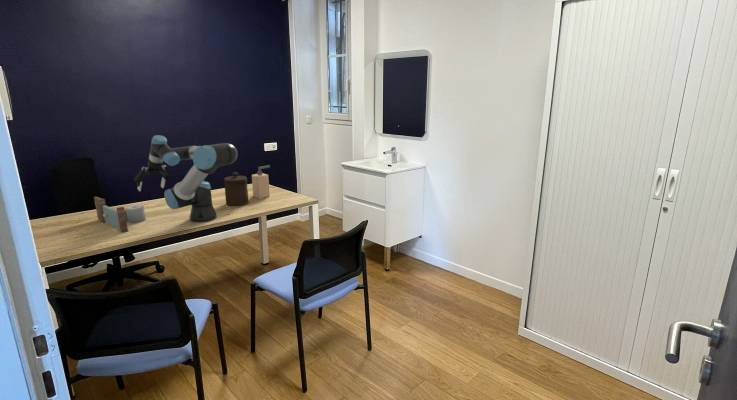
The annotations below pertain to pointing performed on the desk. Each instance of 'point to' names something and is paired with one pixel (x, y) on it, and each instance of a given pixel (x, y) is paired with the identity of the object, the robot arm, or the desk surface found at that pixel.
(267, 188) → the soap dispenser
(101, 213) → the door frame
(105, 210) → the door
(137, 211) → the toilet tissue
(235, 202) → the wooden container
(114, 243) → the desk surface
